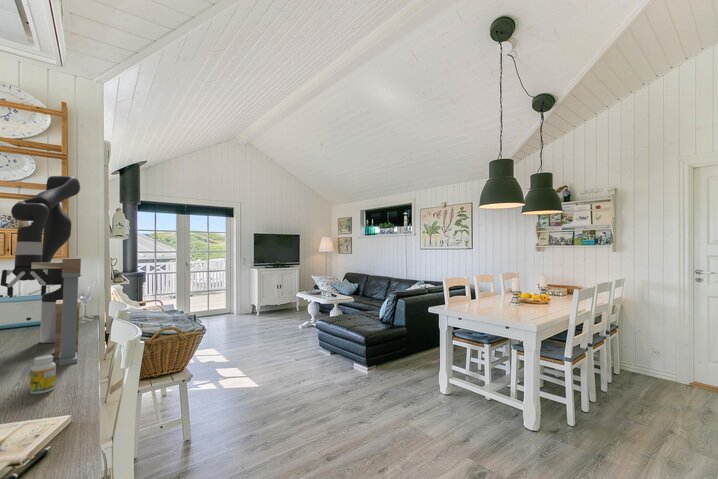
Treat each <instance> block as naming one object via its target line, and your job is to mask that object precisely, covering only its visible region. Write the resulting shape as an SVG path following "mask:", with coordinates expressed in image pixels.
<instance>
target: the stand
mask: <svg viewBox="0 0 718 479" xmlns="http://www.w3.org/2000/svg"><path fill="white" fill-rule="evenodd" d="M62 277H64V284H63V310H62V337H61V352H60V354H59V358H58V363H57V364H58V367H59V366H60V367H61V366H66V365H72V364H78V355H77V352H76V326H77V299H79V298H78V294H79V293H78V292H79V278H80V277H81V272H80V273H62Z"/></svg>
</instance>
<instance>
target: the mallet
mask: <svg viewBox="0 0 718 479" xmlns="http://www.w3.org/2000/svg"><path fill="white" fill-rule="evenodd" d="M81 263H82V258H81V257H63V258H62V261H61V262H60V261H59V262H50V263H32V264H31V269H51V268H62V273H80V274H81V271H82V270H81V268H82V266H81Z"/></svg>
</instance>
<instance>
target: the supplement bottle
mask: <svg viewBox="0 0 718 479" xmlns="http://www.w3.org/2000/svg"><path fill="white" fill-rule="evenodd" d="M33 363H34V364H33V365H32V367H31V368H30V382H29V385H30V386H29V393H30V394H33V395H39V394H45V393H48V392H51V391H53V390H54V389H55V388H56V376H57V375H56V373H57V372H56V370H57V368H56V367H57V365H56V363H55V362H54V355H51V354H47V355H40V356H36V357H34V359H33Z"/></svg>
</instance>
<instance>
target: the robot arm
mask: <svg viewBox="0 0 718 479" xmlns="http://www.w3.org/2000/svg"><path fill="white" fill-rule="evenodd" d="M45 187H46V189H45V190H44V191H40V192H39V193H38V194H36V195H33V196H32V197H31V198H27V199H24V200H21V201H19V202H16V203H15V204H14V205H13V206H12V207H11V210H10V213H11V214H10V215H12V217H13V218H14V219H15V220H17V221H22V222H32V223H31V224H30V225H27V226H22V227H18V229H17V232H16V244H15V248H14V249H15V250H14V268H13V269H3V270H2V271H1V277H0V286H1V287H5V288H7V290H6V291H7V292H6V295H7V296H8V297H9V298H14V287H13V286H14V285H15V284H16V283H17V282H18V281H22V282H23V281H35V280H36V281H37V282H38V284H39V285H40V296H41V306H40V308H41V311H40V312H41V313H40V314H41V315H40V332H39V333H40V335H39V337H40V338H39V342H40V343H41V344H51V343H53V344H54V343H55V330H56V300H63V284H64V277H62V268H51V269H31V264H32V263H52V259H53V257H54V256H55V254H56V253H57V252H58V250H59V249H61V247H63V246H64V245H65V244H66V243H67V242H68V241H69V239H70V238H71V233H72V220H71V218H70V217H69V216H68V214H67V213H66V212H65V211H64V209H63V208H62V206H61V205H60V203H61V202H64V201H65V200H68V199H70V198H71V197H74V196H76V195H78V194H79V193H80V191H81V185H80V181H79V180H78V178H77V177H75V176H72V175H51V176H48V178H47V180H46V186H45ZM11 274H13V275H14V276H15V277H14V278H13V279H12V280H11V281H10V282H9V283H7V280H8V279H7V278H8V276H10V275H11ZM59 285H60V287H59V288H57V289H56V290H54V291H50V292H47V286H59ZM62 310H63V309H62ZM61 337H62V329H61Z"/></svg>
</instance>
